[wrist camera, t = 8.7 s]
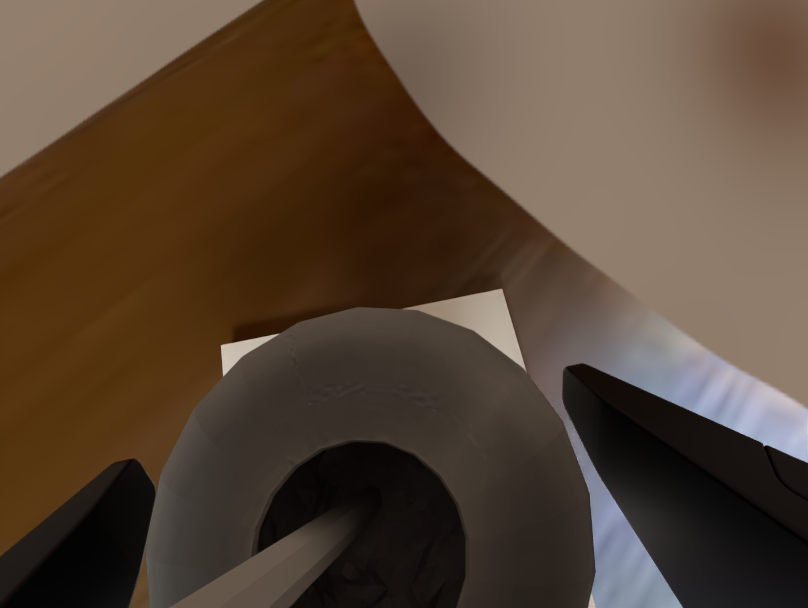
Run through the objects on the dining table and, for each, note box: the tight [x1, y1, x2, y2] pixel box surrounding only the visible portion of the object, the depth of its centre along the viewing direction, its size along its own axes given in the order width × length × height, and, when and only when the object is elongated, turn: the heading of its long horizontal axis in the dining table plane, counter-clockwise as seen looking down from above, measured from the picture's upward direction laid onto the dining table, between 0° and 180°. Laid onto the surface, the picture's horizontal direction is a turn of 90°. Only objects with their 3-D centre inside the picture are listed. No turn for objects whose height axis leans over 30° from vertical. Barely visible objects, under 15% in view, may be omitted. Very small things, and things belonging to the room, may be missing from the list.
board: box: [221, 289, 596, 608], centre depth 20 cm, size 14×14×1 cm
